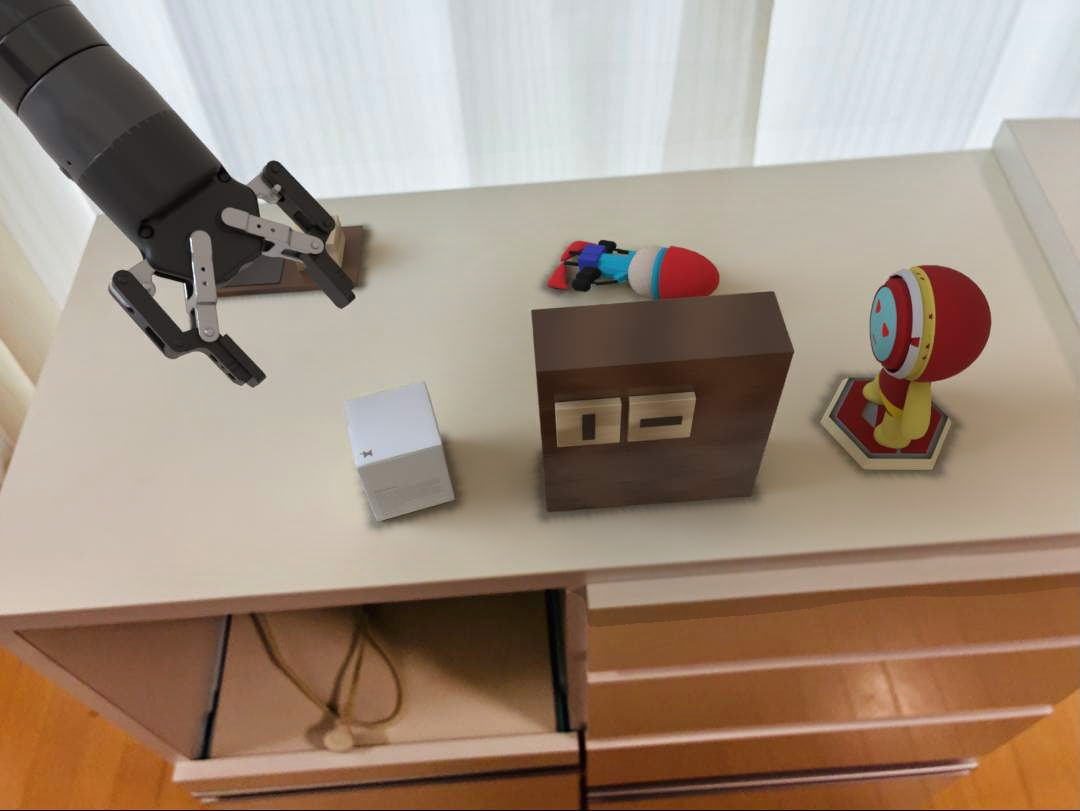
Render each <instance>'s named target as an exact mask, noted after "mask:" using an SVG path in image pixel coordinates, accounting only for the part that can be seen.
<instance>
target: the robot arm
mask: <svg viewBox="0 0 1080 811" xmlns="http://www.w3.org/2000/svg"><path fill="white" fill-rule="evenodd" d="M0 101H2V102H3V103H4V105H5V106H6V107H7V108H8V109H9V110H10V111H11V112H12V113H13V114H14V115H15V116H16V117H17V118H18V119H19V121H20V122H22V124H23V125H24V126H25V127H26V128H27V130H28V131H29V133H30V134H31V135H32V136H33V138H34V139H35V141H36V142H37V143H38V145H39V146H40V147H41V148H42V150H43V151H44V152H45V153H46V155H48V156H49V158H50V159H51V160H52V161H54V163H55V164H56V165H57V166H58V169H59V170H60V172H61V173H62V174H63V175H64V176H65V177H66V178H67V179H68V180H70V181H72V182H73V183H74V184H75V185H76V186H77V187H78V188H79V189H80V190H81V191H82V192H83V193H84V194H85V195H86V196H87V197H88V198H89V199H90V200H91V201H92V202H93V203H94V204H95V205H96V206H97V207H98V209H99V210H100V211H102V212H103V214H104V215H105V216H106V217H107V218H108V219H109V220H110V222H112V223H113V224H114V225H115V226H116V227H117V229H118V230H119V231H121V232H122V234H123V235H124V236H125V237H126V238H127V239H128V240H129V241H130V242H131V243H133V245H134V246H136V248H137V249H138V251H139V252H140V256H141V257H142V260H141V261H140V262H138V263H136V264H135V265H133V266H132V267H130V268H129V269H127V270H126V269H119V270H117V271H115V272H114V274H113V275H112V277H111V279H110V282H109V284H108V286H107V291H108V294H109V295H110V296H111V297H112V298H113V299H114V301H115V302H116V303H117V304H118V305H119V306H120V307H121V308H122V310H123V311H124V312H125V313H126V314H127V315H128V316H129V318H130V319H131V320H132V321H133V322H134V323H135V324H136V325H137V326H138V328H139V329H140V330H141V331H142V332H143V333H144V334H145V335H146V336H147V338H148V339H149V340H150V341H151V342H152V343H153V345H154V346H155V347H156V348H157V349H158V350H159V352H160V353H162V355H163V356H164V357H165V358H167V359H169V360H176V359H179V358H180V357H182V356H185V355H188V354H192V353H195V352H197V353H198V352H199V353H203V354H204V355H205V356H206V357H208V359H209V360H210V361H212V363H214V365H215V366H216V367H217V368H218V369H219V370H220V371H221V372H222V373H223V374H224V375H225V376H226V377H227V378H228V379H229V380H230V381H231V382H232V383H233V384H235V385H238V386H239V387H242V386H244V385H247V386H249V387H250V388H252V389H253V388H255V387H257V386H259V385H260V384H261V383H262V382H263V381H264V380H266V379H267V375H266V373H265V372H264V370H262V368H260V367H259V365H258V364H256V362H255V361H253V359H252V358H251V357H250V356H249V355H248V354H247V353H246V352H245V351H244V350H243V349H242V348H241V347H240V346H239V345H238V344H237V343H236V342H235V341H234V339H233V338H231V336H230V335H229V334H228V333H227V332H226V333H225V334H221V333H220V324H219V319H218V309H217V303H218V297H217V294H216V289H218V288H219V289H221V288H223V287H224V286H225V285H226V284H228V283H229V282H230V281H231V280H232V279H233V277H234V276H235V275H236V274H237V273H238V272H239V271H242V270H244V269H246V268H248V267H249V266H250V265H251V264H253V263H254V262H255V261H256V260H257V259H258V258H259V257H260V256H261V255H266V256H269V257H282V258H286V259H290V260H293V261H297V262H301V263H304V264H305V265H306V266H307V267H306V268H305V269H304V271H305V272H306V273H307V274H308V275H309V276H310V277H311V279H312V280H313V281H314V282H315V283H316V284H317V285H318V286H319V288H320V289H319V290H321V291H322V293H323V294H325V296H326V297H327V298H328V299H329V300H330V301H331V302H332V304H334V305H335V307H336V308H338V309H341V310H343V309H344V308H346V307H347V306H349V305H350V304H352V302H354V300H356V294H355V293H354V291H353V290H354V289H355V287H354V285H353V283H352V280H351V279H350V278H349V277H348V276H347V275H346V274H345V272H344V271H343V270H342V269H341V268H340V267H339V266H338V264H337V263H336V262H335V261H334V260H333V259H332V258H331V256H330V255H329V254H328V253H327V251H326V248H325V244H326V241H327V239H328V237H329V235H330V233H331V232H332V231H333V230H334V229H335V226H336V223H335V220H334V219H333V218H332V217H331V216H332V215H331V214H330V213H329V212H328V211H327V210H326V209H325V208H324V207H323V206H322V205H321V204H320V203H319V202H318V200H316V199H315V197H314V196H312V194H311V193H310V192H309V191H308V190H307V189H306V188H305V187H304V186H303V185H302V184H301V183H300V182H299V180H297V179H296V178H295V176H293V174H292V173H290V171H289V170H288V169H287V168H286V166H284V165H283V164H282V163H281V162H279V161H278V160H275V159H273V160H272V159H271V160H269V161H268V162H267V163H266V164H265V165H264V166H263V168H262V169H261V171H260V172H259V173H258V174H257V175H256V176H254V178H252V180H251V179H250V181H249V182H248V183H246V184H244V183H242V182H240V181H238V180H237V179H235V178H234V177H233V176H232V175H230V173H229V172H228V171H227V169H226V168H225V166H224V165H223V164H222V162H221V161H220V160H219V159H218V157H216V155H215V154H214V153H213V152H212V151H211V150H210V149H209V147H208V146H207V145H206V144H205V143H204V142H203V141H202V140H201V139H200V137H198V135H197V134H196V133H195V132H194V131H193V129H192V128H190V126H189V125H188V124H187V123H186V122H185V120H183V118H182V117H181V116H180V115H179V114H178V112H177V111H175V110H174V109H173V107H172V106H171V104H169V103H168V101H166V99H165V98H164V97H163V96H162V95H161V93H160V92H159V91H158V90H157V89H156V88H155V87H154V86H153V85H152V83H151V82H150V81H149V80H148V79H147V78H146V77H145V76H144V75H143V73H141V72H140V71H139V70H138V69H137V68H135V67H134V66H133V65H132V64H131V63H129V61H127V59H125V58H124V57H123V56H122V55H121V54H120V53H119V52H118V51H117V50H116V49H115V48H114V47H113V46H112V45H111V44H110V43H109V42H108V40H106V38H105V37H104V36H103V35H102V33H101V32H99V31H98V29H97V28H96V27H95V26H94V25H93V24H92V23H91V21H90V20H88V18H87V17H86V16H85V15H84V14H83V12H81V10H80V9H79V8H78V7H77V5H76V4H75V3H74V2H73V1H72V0H0ZM259 199H260V200H263V201H264V202H265V203H267V204H268V205H277V207H278V208H279V209H281V211H282V212H283V213H284V214H285V215H286V216H287V217H288V218H289V219H290V220H291V221H292V222H293V224H296V225H297V226H298V227H299V228H300V229H301V230H302V231H303V232H304V233H305V234H304V233H301V232H297V231H294V230H293V229H292V227H291V226H289V225H287V224H283V223H280V222H278V221H277V222H276V221H273V220H270V219H266V218H263V217H261V213H260V207H259V206H260V205H259ZM153 275H154V276H155V277H158V278H162V279H165V280H169V281H173V282H177V283H181V284H182V288H183V295H184V296H183V297H184V305H185V312H186V314H187V317H188V322H189V329H188V330H185V331H183V330H182V329H181V328H180V327H179V326H178V325H177V323H176V322H175V321H174V320H173V319H172V317H171V316H170V315H169V314H168V312H166V311H165V310H164V309H163V307H162V306H161V305H160V304H159V303H158V301H156V299H155V298H154V297H155V295H156V291H157V288H156V285H155V283H154V282H153Z"/></svg>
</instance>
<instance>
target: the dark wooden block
mask: <svg viewBox="0 0 1080 811" xmlns="http://www.w3.org/2000/svg"><path fill="white" fill-rule="evenodd" d="M530 314H531V327H532V339H533V340H532V341H533V352H534V354H533V355H534V365H535V380H536V391H537V404H538V417H539V429H540V440H541V442H540V443H541V444H540V445H541V454H542V467H543V470H542V471H543V481H544V482H543V483H544V493H545V494H544V495H545V506H546V507H545V508H546V512H549V513H550V512H563V511H575V510H577V511H578V510H588V509H600V508H601V509H602V508H613V507H614V508H615V507H625V506H640V505H653V504H654V505H655V504H665V503H678V502H689V501H690V502H691V501H704V500H705V501H706V500H715V499H717V500H718V499H728V498H729V499H730V498H742V497H752V495H753V491H754V487H755V484H756V481H757V478H758V475H759V474H758V473H759V470H760V468H761V465H762V461H763V458H764V455H765V452H766V447H767V444H768V441H769V437H770V434H771V431H772V427H773V424H774V420H775V418H776V414H777V411H778V408H779V404H780V401H781V398H782V394H783V392H784V388H785V384H786V380H787V377H788V374H789V370H790V368H791V364H792V362H793V361H792V360H793V358H794V354H795V348H794V346H793V343H792V339H791V336H790V333H789V331H788V328H787V326H786V321H785V319H784V316H783V313H782V310H781V307H780V304H779V301H778V298H777V295H776V292H775V290H770V291H769V290H768V291H755V292H754V291H753V292H742V293H728V294H717V295H709V296H702V297H689V298H676V299H663V300H655V299H652V300H651V299H650V300H638V301H637V300H636V301H625V302H613V303H612V302H611V303H599V304H588V305H587V304H585V305H575V306H573V305H572V306H562V307H561V306H560V307H548V308H536V309H531V311H530Z"/></svg>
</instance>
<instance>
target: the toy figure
mask: <svg viewBox="0 0 1080 811" xmlns="http://www.w3.org/2000/svg"><path fill="white" fill-rule="evenodd" d="M613 252H616V253H617V254H615V253H614V254H613ZM576 256H578V257H577V261H569V260H570V259H572V258H574V257H576ZM559 261H560V262H562V263H560V264H559V265H558V266H557V268H556V269H555V270H554V272H553V273H552V275H551V276H550V278H549V279H548V282H547V284H546V285H547V286H548V287H551V288H553V289H560V290H569V289H570V288H569V287H568V285H567V283H568V282H567V267H569V266H570V267H577V268H578V272H576V274H575V278H573V280H571V282H570V285H571V288H572V290H573V291H574V292H580V293H587V292H589V291H591V288H592V285H595V286H596V287H597V286H608V285H615V284H617V285H621V284H622V283H624V282H625V281H626V282H629V285H630V287H631V288H632V290H633V291H634V292H635V293H636V294H637V295H639V296H641V297H643V298H653V300H663V299H676V298H689V297H702V296H712V294H714V292H715V291H716V290H717V289H718V287H719V285H720V282H721V281H720V280H721V275H720V272H719V271H718V268H717V266H716V265H715V263H713V262H712V261H711V260H710V259H708V258H707V257H706V256H705V255H703V254H700V253H699V252H697V251H695V250H691V249H688V248H687V247H681V246H674V245H670V246H669V247H665V246H661V245H654V244H653V245H648V246H645V247H643V248H641V249H640V250H639V251H637V250H629V249H628V250H627V249H623V248H617V243H616V242H615V241H613V240H608V239H600V240H599V241H598V242H597V243H595V242H590V241H584V240H574V241H573V242H571V243H570V244H569V246H568V247H567V248H566V249H565V250H564V252H563V253H562V255H561V257H560V260H559ZM600 278H605V279H611V280H602V281H601V280H600V281H596V280H599V279H600Z"/></svg>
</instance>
